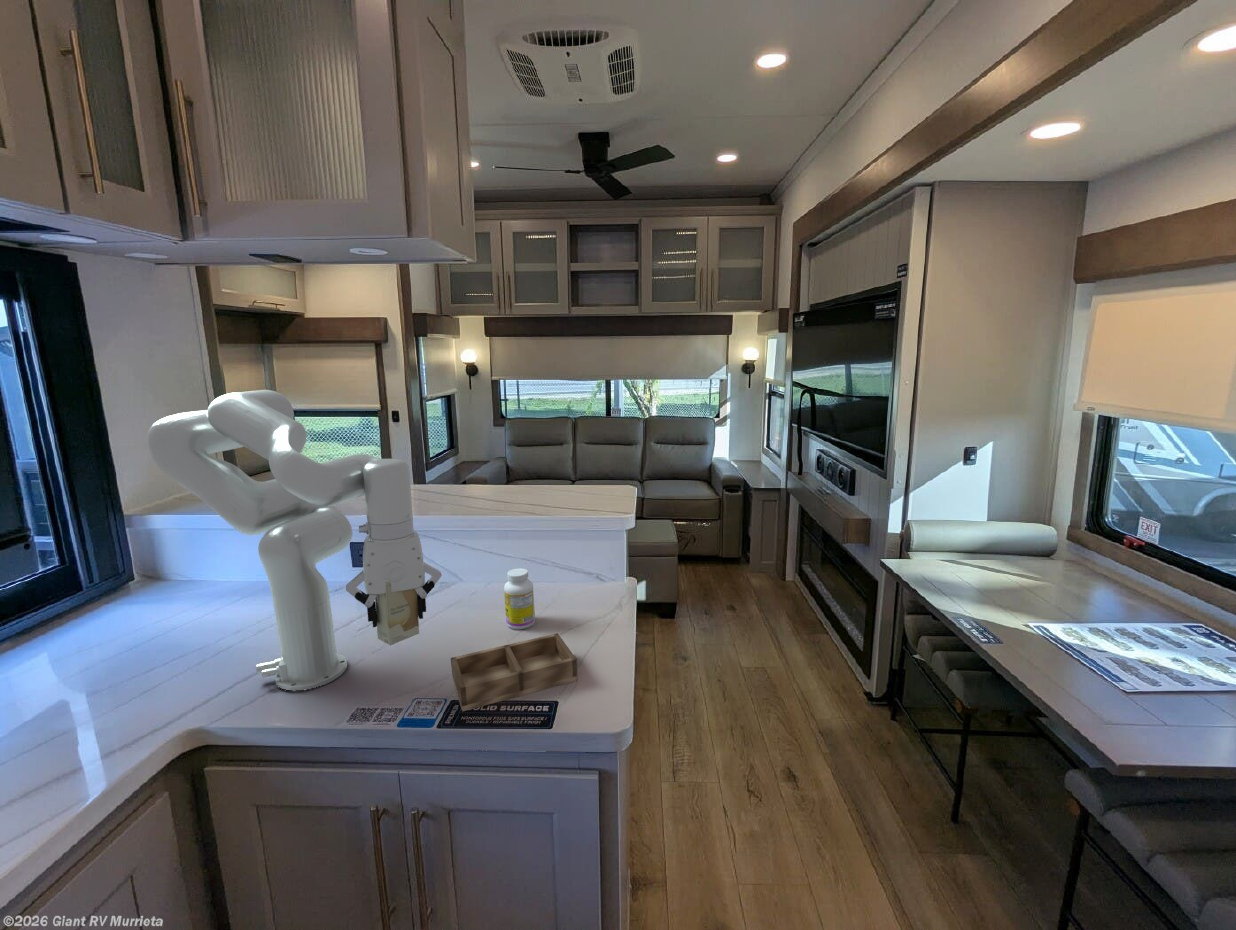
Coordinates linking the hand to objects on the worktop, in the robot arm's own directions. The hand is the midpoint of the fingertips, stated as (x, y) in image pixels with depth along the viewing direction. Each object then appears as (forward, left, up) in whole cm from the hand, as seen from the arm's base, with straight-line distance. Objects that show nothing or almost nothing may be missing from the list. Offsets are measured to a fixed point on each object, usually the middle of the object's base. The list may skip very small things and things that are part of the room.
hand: (397, 619), depth 105 cm
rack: (+19, -6, -14) cm, 25 cm away
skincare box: (0, 0, -4) cm, 4 cm away
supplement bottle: (+27, +16, -14) cm, 34 cm away
